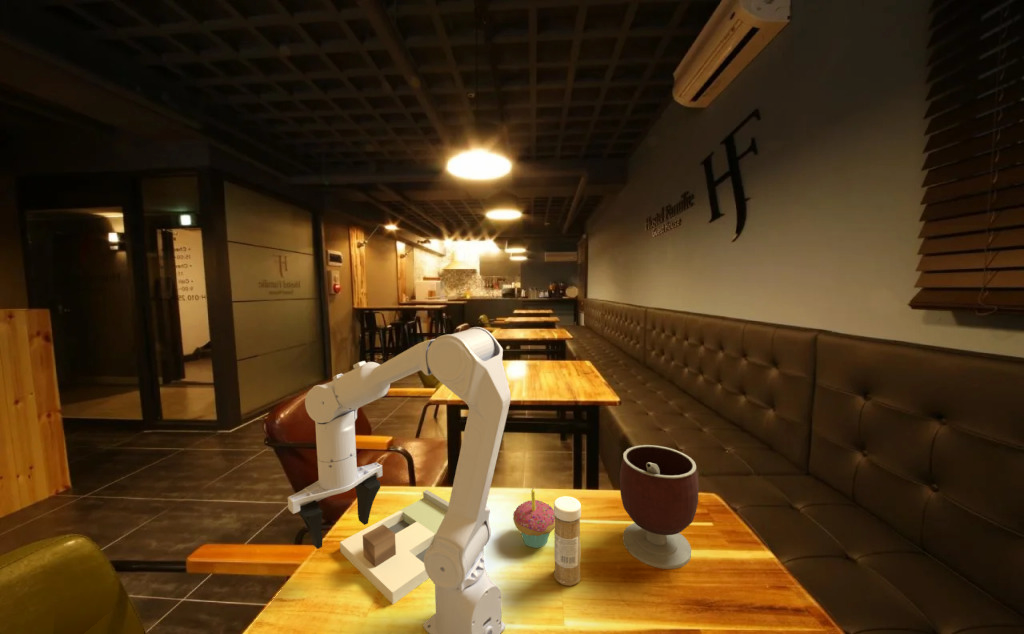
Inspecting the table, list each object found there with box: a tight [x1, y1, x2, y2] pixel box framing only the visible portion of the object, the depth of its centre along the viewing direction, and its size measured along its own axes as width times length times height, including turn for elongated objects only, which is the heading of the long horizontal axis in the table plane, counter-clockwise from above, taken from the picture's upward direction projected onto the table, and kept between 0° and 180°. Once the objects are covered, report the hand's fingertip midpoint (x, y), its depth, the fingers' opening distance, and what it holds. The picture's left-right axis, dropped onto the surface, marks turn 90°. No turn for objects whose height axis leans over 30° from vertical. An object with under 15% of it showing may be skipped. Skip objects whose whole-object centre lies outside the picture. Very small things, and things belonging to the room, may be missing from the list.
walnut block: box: [363, 525, 396, 567], centre depth 67 cm, size 4×4×4 cm
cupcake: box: [512, 486, 555, 549], centre depth 74 cm, size 9×8×12 cm
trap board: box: [339, 489, 450, 605], centre depth 73 cm, size 18×20×4 cm
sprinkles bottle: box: [553, 495, 582, 587], centre depth 64 cm, size 5×5×14 cm
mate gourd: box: [619, 444, 700, 570], centre depth 71 cm, size 16×14×20 cm
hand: (341, 533), depth 62 cm, fingers open, 7 cm apart
